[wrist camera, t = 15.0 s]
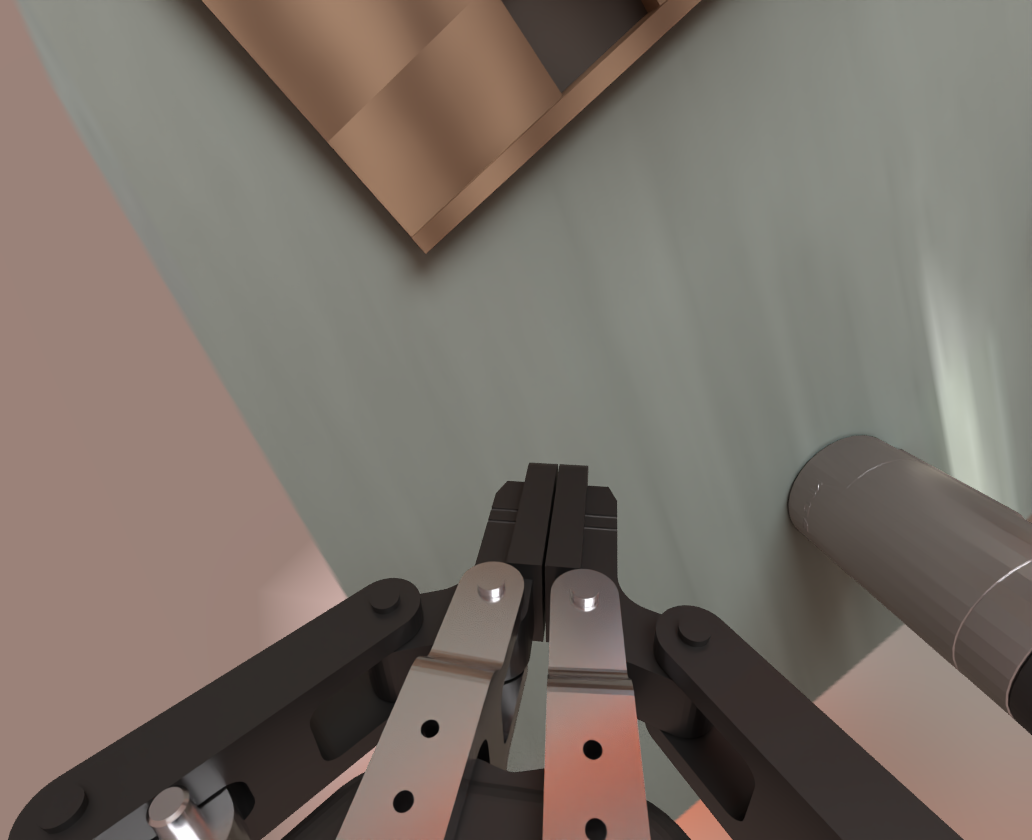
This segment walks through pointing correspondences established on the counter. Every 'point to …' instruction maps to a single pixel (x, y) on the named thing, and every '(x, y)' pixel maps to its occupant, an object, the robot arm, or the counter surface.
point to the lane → (443, 84)
